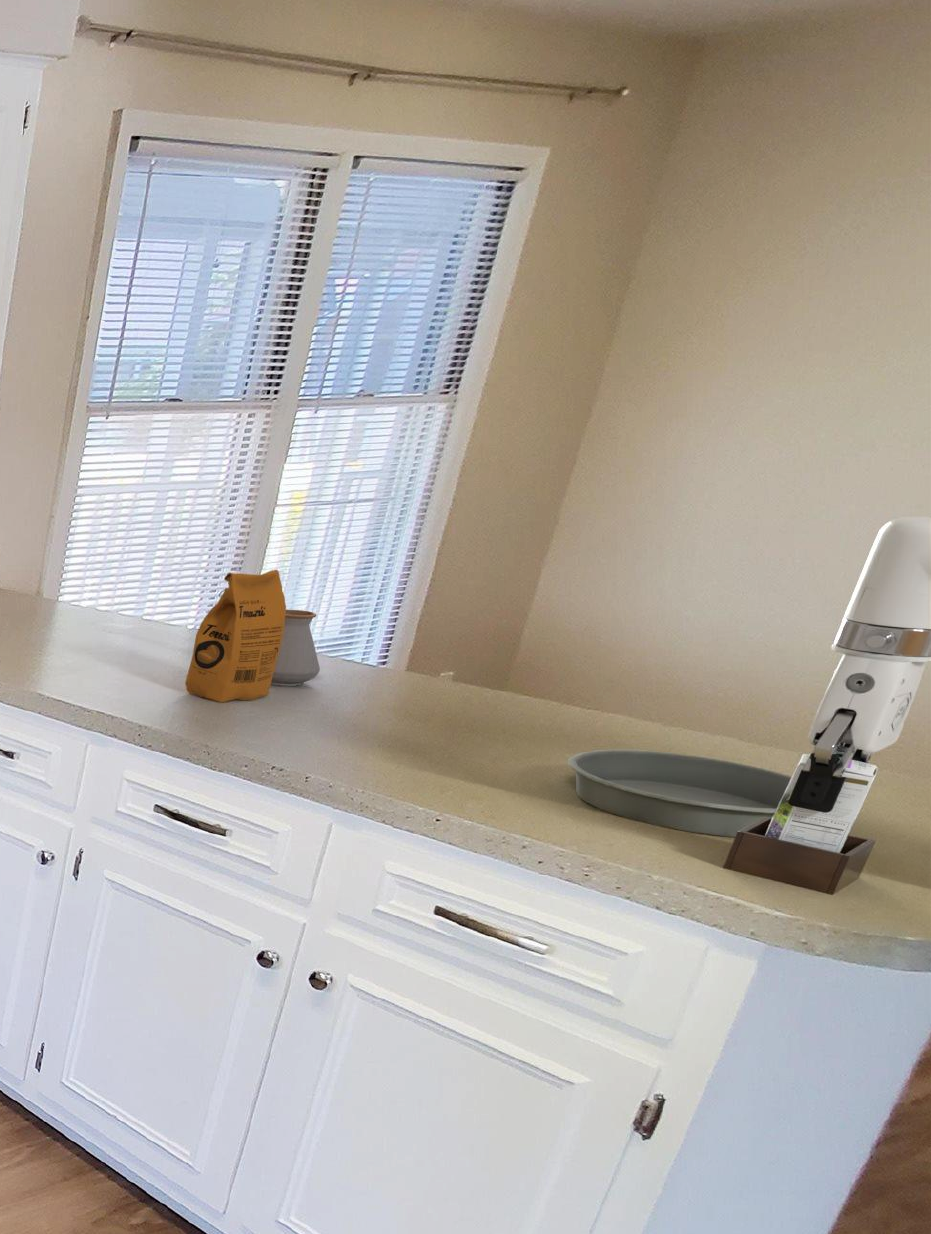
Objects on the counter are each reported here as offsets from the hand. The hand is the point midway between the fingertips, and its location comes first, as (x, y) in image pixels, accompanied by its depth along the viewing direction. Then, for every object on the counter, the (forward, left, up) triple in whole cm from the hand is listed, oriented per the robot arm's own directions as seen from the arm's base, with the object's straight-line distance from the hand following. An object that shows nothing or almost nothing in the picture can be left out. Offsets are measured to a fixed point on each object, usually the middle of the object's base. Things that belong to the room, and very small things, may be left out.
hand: (820, 801), depth 127 cm
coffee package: (+79, -31, -10) cm, 86 cm away
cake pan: (+15, -22, -10) cm, 29 cm away
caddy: (0, 0, -10) cm, 10 cm away
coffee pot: (+84, -50, -10) cm, 98 cm away
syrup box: (0, 0, -10) cm, 10 cm away
